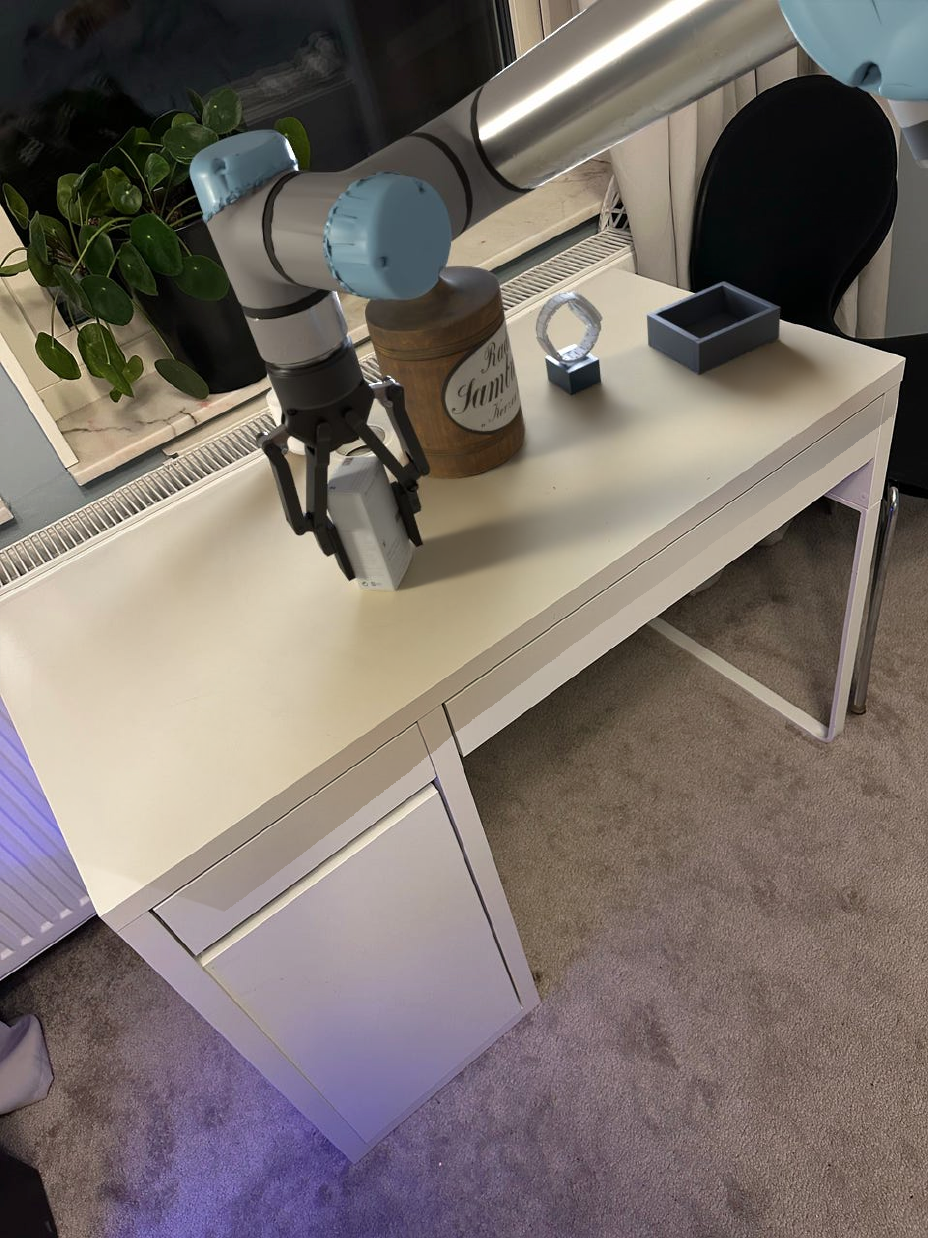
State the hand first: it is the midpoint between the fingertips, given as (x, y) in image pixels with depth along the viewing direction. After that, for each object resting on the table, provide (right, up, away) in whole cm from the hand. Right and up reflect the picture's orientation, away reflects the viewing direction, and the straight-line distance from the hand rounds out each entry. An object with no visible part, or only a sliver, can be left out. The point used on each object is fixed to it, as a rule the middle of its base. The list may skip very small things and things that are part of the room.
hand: (381, 555), depth 85 cm
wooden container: (+8, +15, +16) cm, 23 cm away
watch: (+22, +23, +20) cm, 38 cm away
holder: (+39, +28, +20) cm, 52 cm away
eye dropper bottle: (-12, +15, +22) cm, 29 cm away
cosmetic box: (0, -2, +1) cm, 2 cm away
